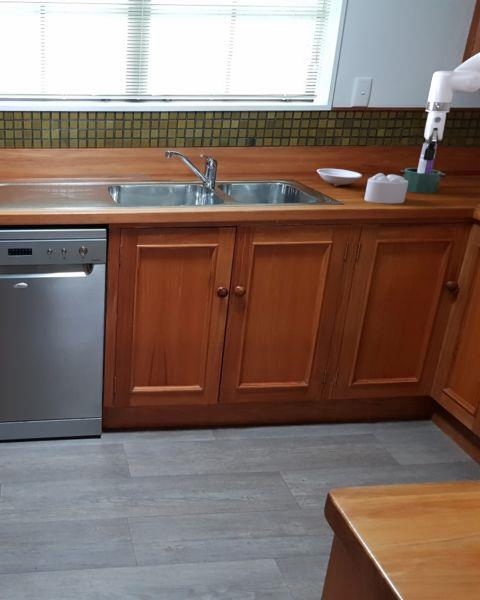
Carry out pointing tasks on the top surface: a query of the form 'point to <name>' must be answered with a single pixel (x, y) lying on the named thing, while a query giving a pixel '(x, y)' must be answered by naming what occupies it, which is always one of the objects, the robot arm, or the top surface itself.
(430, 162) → the container
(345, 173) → the dish
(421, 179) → the pot
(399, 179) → the lumpy-topped squat cylinder
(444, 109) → the robot arm
